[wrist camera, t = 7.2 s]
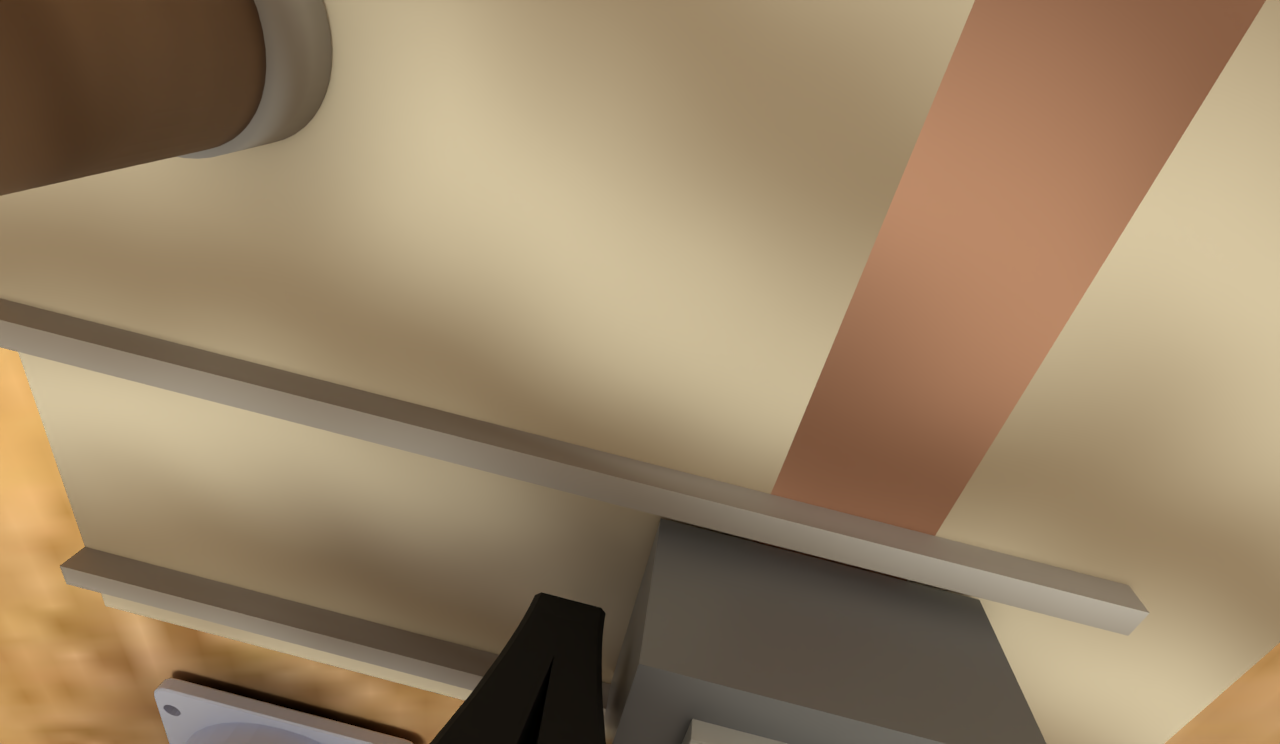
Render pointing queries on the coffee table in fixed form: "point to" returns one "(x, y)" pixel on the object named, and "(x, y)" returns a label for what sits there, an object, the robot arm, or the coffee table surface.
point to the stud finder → (803, 654)
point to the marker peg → (152, 81)
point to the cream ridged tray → (696, 333)
